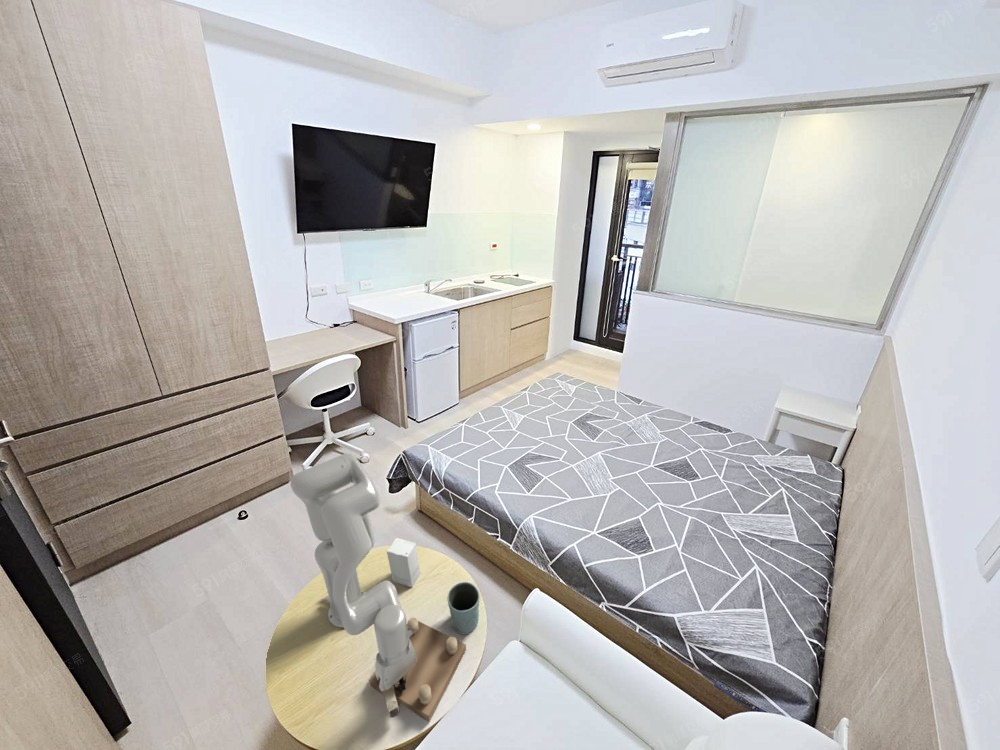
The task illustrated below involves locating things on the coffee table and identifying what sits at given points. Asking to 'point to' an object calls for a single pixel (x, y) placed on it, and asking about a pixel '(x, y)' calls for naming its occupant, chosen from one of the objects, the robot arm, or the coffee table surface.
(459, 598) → the teal cup
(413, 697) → the stool seat
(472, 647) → the coffee table surface
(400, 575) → the skincare box
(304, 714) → the coffee table surface
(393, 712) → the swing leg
